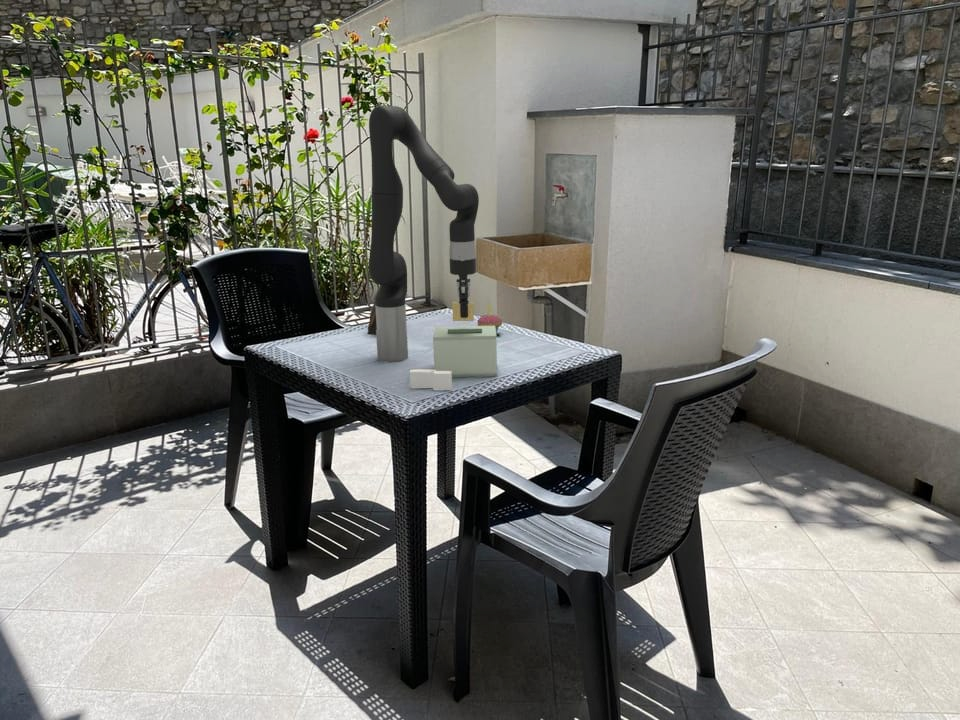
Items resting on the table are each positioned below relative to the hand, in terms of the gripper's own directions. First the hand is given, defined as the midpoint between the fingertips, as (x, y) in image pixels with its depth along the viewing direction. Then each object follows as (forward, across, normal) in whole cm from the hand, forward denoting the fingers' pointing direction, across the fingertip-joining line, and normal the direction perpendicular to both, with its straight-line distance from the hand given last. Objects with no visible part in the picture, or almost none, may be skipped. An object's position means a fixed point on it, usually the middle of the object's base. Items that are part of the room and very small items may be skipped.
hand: (464, 315), depth 215 cm
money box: (+17, 0, 0) cm, 17 cm away
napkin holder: (+17, +16, -9) cm, 25 cm away
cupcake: (+17, -41, +8) cm, 45 cm away
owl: (+17, -48, -29) cm, 59 cm away
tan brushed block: (-1, 0, -3) cm, 4 cm away
